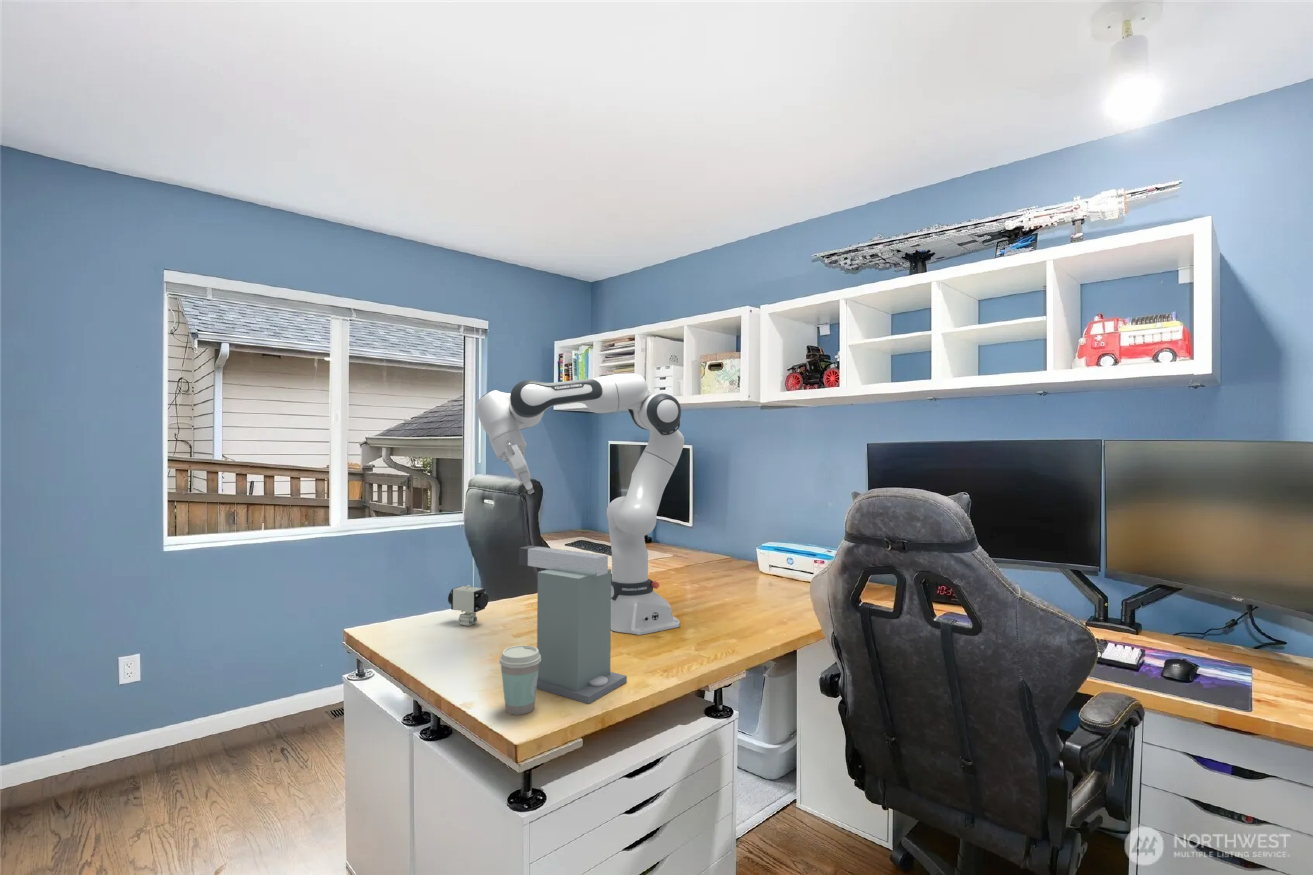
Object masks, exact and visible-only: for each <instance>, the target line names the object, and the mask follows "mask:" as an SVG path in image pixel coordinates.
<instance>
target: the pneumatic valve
mask: <svg viewBox="0 0 1313 875" xmlns="http://www.w3.org/2000/svg"><path fill="white" fill-rule="evenodd" d="M489 598H490V597H489V595H488V593H487V592H486V588H483V587H477V586H475V587H474V586H471V585H470V584H467V585H466V586H464V585H460V586H457V587H455V588H451V590H450V591H449V594H448V596H447V602H448V604H449V605H450V607H451V608H450V609H451V610H452V611H458V612H459V611H460V614H459V616H458V622H459V623H458V624H459V625H460V626H464V627H471V626H472V625H475V624H477V622H478V617H477V613H478V612H481V611H483V610H485V608H486V607H487V606H488V604H489Z"/></svg>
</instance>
